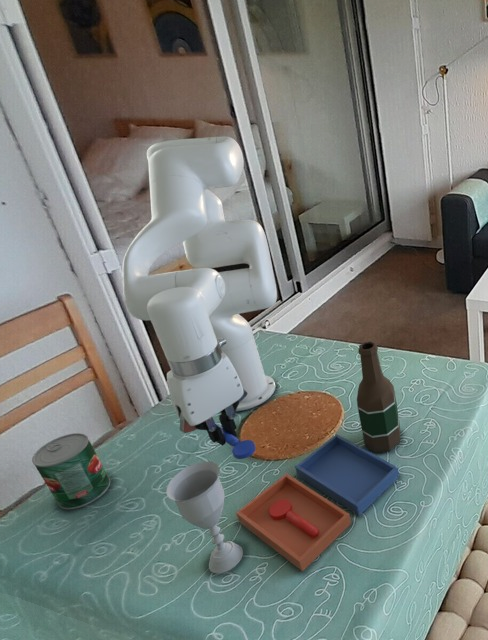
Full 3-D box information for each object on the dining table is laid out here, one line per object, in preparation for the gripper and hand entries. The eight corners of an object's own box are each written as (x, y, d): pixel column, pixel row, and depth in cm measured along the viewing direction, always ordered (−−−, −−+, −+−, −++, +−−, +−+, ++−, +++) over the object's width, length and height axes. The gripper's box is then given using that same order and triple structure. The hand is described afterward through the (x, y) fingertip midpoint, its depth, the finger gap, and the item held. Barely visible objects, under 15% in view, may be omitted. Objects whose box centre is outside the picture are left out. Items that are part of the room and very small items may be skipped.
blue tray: (297, 476, 97) (294, 466, 96) (338, 442, 105) (336, 433, 104) (359, 516, 89) (357, 506, 88) (399, 476, 97) (397, 467, 96)
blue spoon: (203, 436, 93) (201, 430, 93) (222, 424, 96) (220, 418, 95) (241, 462, 88) (239, 456, 87) (259, 448, 90) (257, 442, 90)
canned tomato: (120, 481, 97) (98, 438, 92) (77, 514, 90) (51, 470, 85) (92, 471, 99) (69, 428, 94) (48, 503, 92) (20, 459, 87)
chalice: (214, 540, 85) (182, 462, 77) (255, 536, 86) (227, 459, 77) (193, 582, 78) (156, 502, 70) (238, 578, 79) (206, 499, 71)
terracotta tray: (239, 522, 88) (235, 512, 87) (289, 482, 96) (286, 473, 95) (302, 571, 80) (299, 561, 79) (351, 523, 88) (349, 513, 86)
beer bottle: (393, 456, 101) (377, 359, 90) (357, 451, 103) (338, 355, 92) (407, 429, 108) (394, 336, 97) (374, 425, 109) (358, 332, 99)
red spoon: (326, 529, 86) (325, 523, 85) (309, 546, 83) (307, 540, 83) (283, 499, 92) (281, 494, 91) (266, 514, 89) (264, 508, 88)
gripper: (226, 329, 92) (251, 405, 100) (133, 375, 80) (170, 457, 89) (251, 341, 88) (275, 420, 97) (157, 392, 76) (194, 475, 85)
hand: (225, 437), depth 93 cm, fingers closed on blue spoon, 1 cm apart
